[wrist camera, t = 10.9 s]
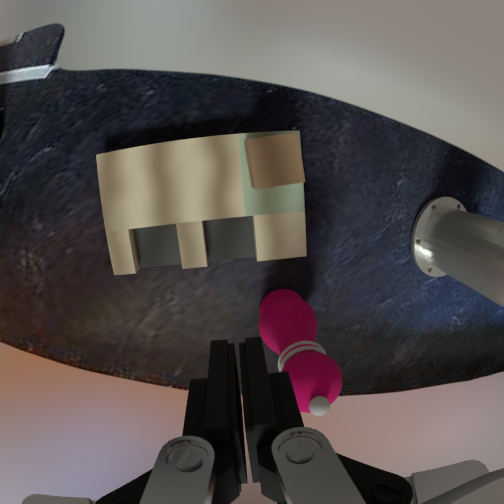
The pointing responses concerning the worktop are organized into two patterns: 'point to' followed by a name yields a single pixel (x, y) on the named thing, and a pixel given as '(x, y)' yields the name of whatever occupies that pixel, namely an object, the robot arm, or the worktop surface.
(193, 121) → the worktop surface
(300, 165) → the walnut block
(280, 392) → the robot arm
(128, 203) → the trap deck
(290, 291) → the pepper mill
